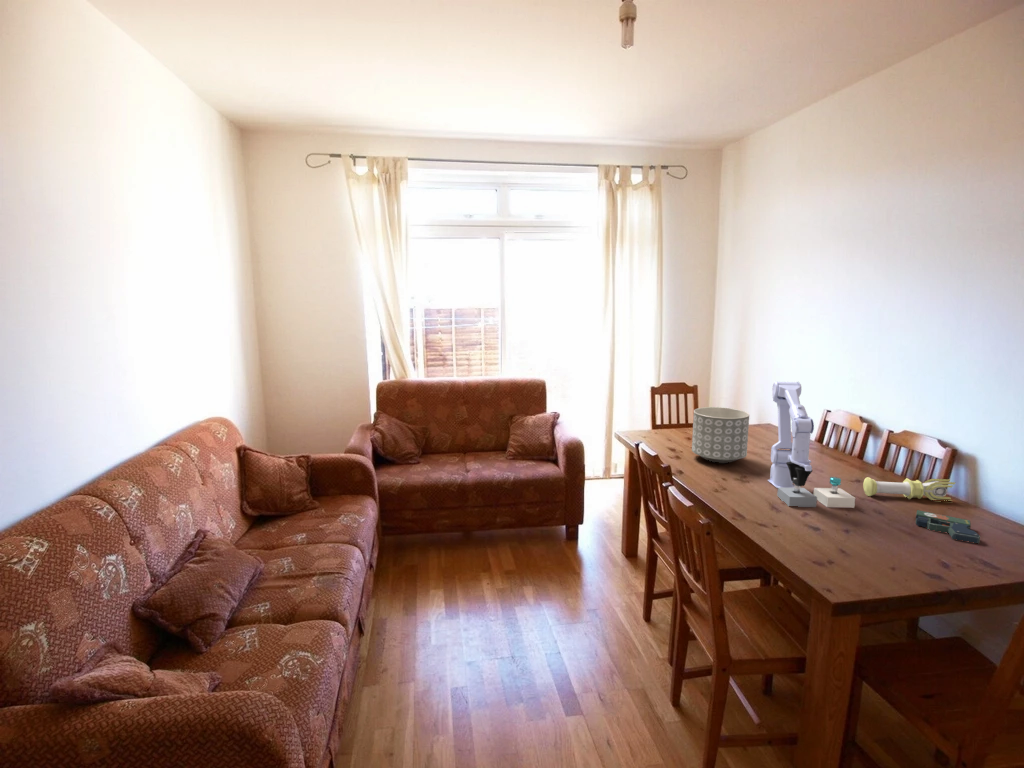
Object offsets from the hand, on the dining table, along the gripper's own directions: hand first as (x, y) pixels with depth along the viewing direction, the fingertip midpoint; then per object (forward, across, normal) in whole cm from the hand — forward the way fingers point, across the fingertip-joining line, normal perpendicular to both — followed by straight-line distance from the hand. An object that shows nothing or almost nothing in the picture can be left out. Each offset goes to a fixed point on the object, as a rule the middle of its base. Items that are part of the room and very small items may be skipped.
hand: (797, 483), depth 199 cm
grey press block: (+8, 0, 0) cm, 8 cm away
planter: (+8, +53, +12) cm, 55 cm away
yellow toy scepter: (+8, +6, -45) cm, 46 cm away
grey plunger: (+4, 0, 0) cm, 4 cm away
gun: (+8, -24, -38) cm, 46 cm away
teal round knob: (+4, 0, -14) cm, 15 cm away
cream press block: (+8, 0, -14) cm, 16 cm away
